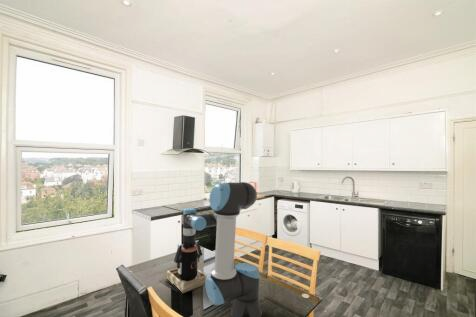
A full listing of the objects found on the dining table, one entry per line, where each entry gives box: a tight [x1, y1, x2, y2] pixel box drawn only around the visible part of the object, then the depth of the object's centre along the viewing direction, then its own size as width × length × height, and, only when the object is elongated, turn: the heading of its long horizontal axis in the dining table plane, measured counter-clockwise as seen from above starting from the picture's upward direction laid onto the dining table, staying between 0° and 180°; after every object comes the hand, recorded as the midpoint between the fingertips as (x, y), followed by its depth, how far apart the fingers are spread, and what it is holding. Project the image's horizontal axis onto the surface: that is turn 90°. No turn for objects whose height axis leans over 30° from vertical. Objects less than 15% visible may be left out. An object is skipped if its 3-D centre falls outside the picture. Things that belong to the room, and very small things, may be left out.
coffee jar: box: [179, 244, 199, 281], centre depth 142 cm, size 11×11×18 cm
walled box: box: [166, 267, 208, 294], centre depth 144 cm, size 20×16×5 cm
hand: (188, 270), depth 142 cm, fingers closed on coffee jar, 11 cm apart
